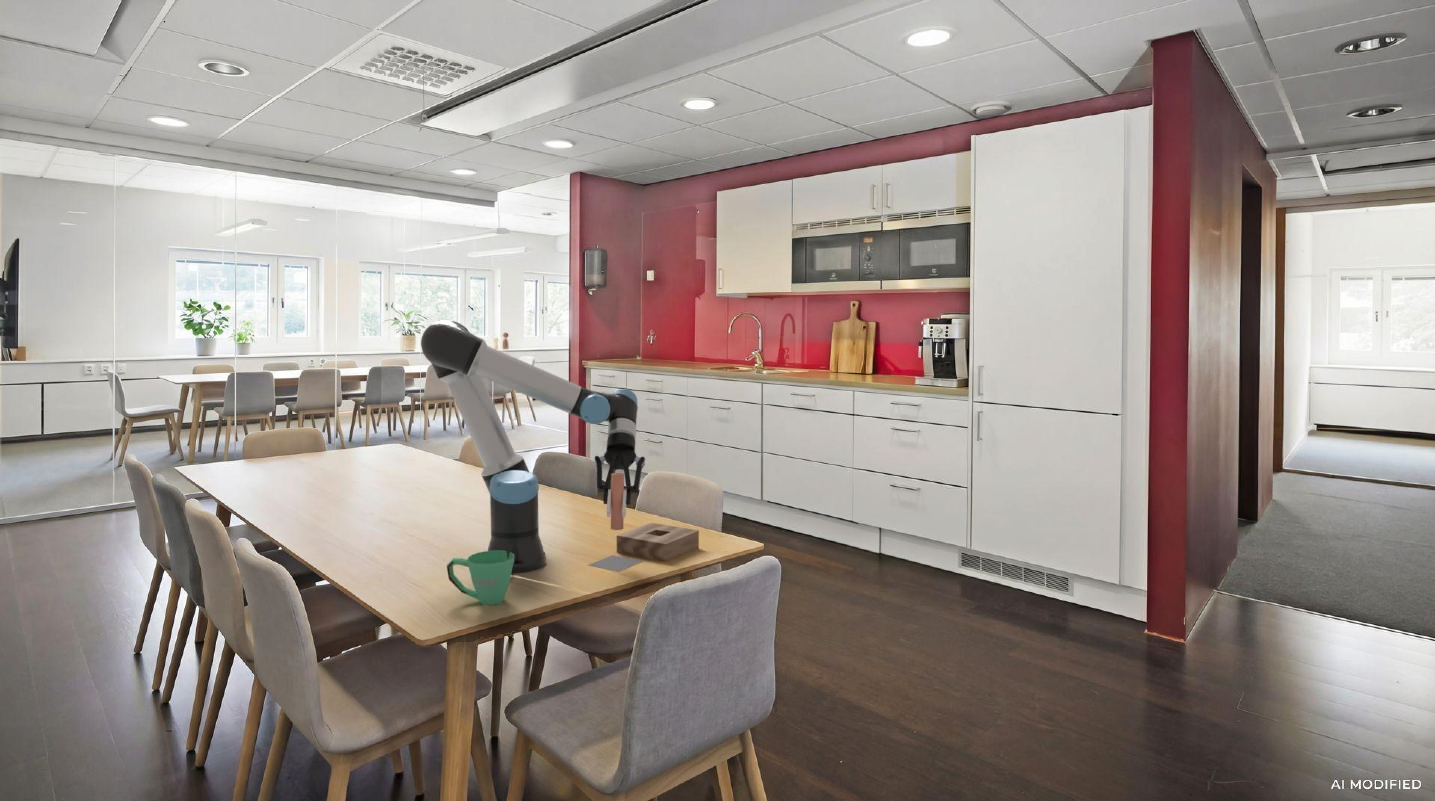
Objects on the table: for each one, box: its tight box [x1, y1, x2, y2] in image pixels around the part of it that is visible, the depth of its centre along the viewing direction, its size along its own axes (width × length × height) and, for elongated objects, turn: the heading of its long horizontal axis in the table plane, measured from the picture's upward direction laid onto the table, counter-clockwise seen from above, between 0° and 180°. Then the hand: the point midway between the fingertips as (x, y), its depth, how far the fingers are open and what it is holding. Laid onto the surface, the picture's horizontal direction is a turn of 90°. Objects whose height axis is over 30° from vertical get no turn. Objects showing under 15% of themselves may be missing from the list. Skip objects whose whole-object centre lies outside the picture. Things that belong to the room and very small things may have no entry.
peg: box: [610, 472, 625, 531], centre depth 189 cm, size 3×3×14 cm
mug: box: [446, 550, 514, 606], centre depth 163 cm, size 15×10×10 cm
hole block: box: [616, 522, 700, 562], centre depth 202 cm, size 16×16×5 cm
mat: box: [588, 554, 644, 572], centre depth 190 cm, size 10×10×1 cm
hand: (616, 514), depth 185 cm, fingers closed on peg, 3 cm apart
